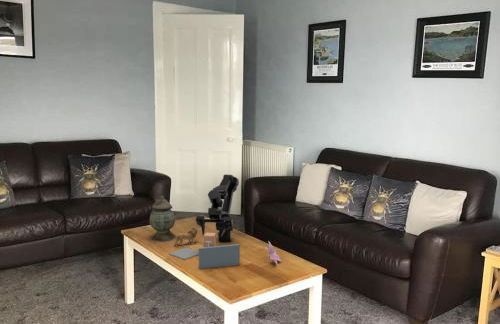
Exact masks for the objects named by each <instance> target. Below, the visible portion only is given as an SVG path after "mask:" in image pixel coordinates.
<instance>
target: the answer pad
mask: <svg viewBox="0 0 500 324" xmlns="http://www.w3.org/2000/svg"><path fill="white" fill-rule="evenodd" d="M168 255H170V256H172V257H174V258H175V257H176V258H178V259H181V260H184V261H185V260H188V259H191V258H194V257H196V256H199V250H195V249H192V248H189V247H184V248H180V249H177V250H175V251H172V252H169V253H168Z"/></svg>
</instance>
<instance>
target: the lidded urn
mask: <svg viewBox="0 0 500 324" xmlns="http://www.w3.org/2000/svg"><path fill="white" fill-rule="evenodd" d="M172 209H173V206H172V204H171V203H169V201H168V199H165V196H164V195H160V196H159V198H158V199H156V200H155V201H154V203H153V204H152V205H151V212H150V216H149V225H150V227H151V228H152V229H153V230H155V231H156V232H155V233H154V234H153V235H152V236H151V238H152V240H153V241H156V242H170V241H173V240H174V239H175V240H176V237H177V236H176V234H174V233H173V232H171V229H172V228H173V227H174V226H175V223H176V216H175V214H174V211H173V210H172Z"/></svg>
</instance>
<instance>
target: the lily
mask: <svg viewBox="0 0 500 324" xmlns="http://www.w3.org/2000/svg"><path fill="white" fill-rule="evenodd" d="M268 246H269V247H267V246H265V247H264V248H265V249H266V250H267V252H268V256H267V257H266V258H265V260H264V261H263V263H265V262H266V261H267V259H268V258H270V260H273V261H274V263H275V265H276V266H278V261H279V262H282V259H281V258H280V256H279V255H278V254H277V252H276V249H275V248H274V247H273V245H272V244H271V242H270V241H268Z"/></svg>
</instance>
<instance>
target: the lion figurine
mask: <svg viewBox="0 0 500 324" xmlns="http://www.w3.org/2000/svg"><path fill="white" fill-rule="evenodd" d="M197 235H198V227H197V226H191V228H190V229H189V230H188V232H186V233H182V232H180V233H179V234H177V236H176V238H175V242H174V245H173V246H174V247H176V246H178V245H179V244H180V246H182V247H184V246H185V244H183V241H184V240H187V241H188V244H191V245H195V243H194V239H196V237H197ZM179 241H180V242H179ZM178 242H179V244H178Z"/></svg>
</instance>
